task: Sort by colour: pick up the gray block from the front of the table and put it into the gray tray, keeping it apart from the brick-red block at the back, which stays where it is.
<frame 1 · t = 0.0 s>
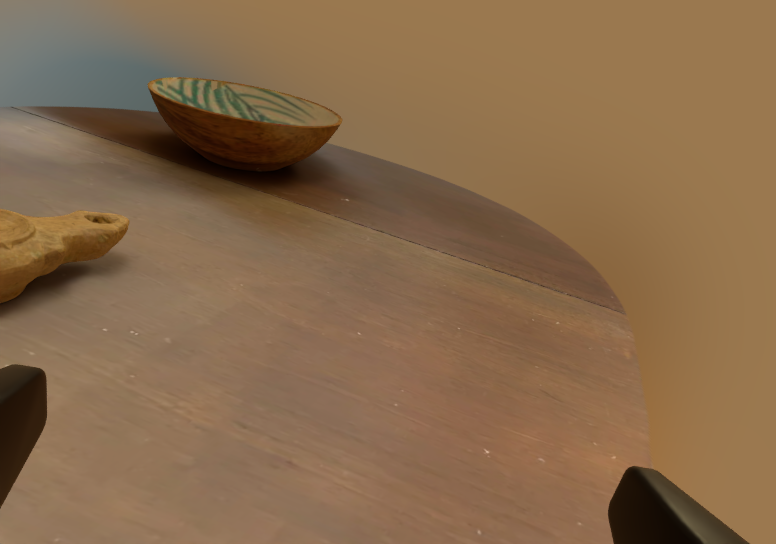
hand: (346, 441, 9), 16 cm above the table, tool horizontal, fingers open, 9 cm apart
bowl: (242, 160, 81), on the table
oil lamp: (14, 283, 41), on the table
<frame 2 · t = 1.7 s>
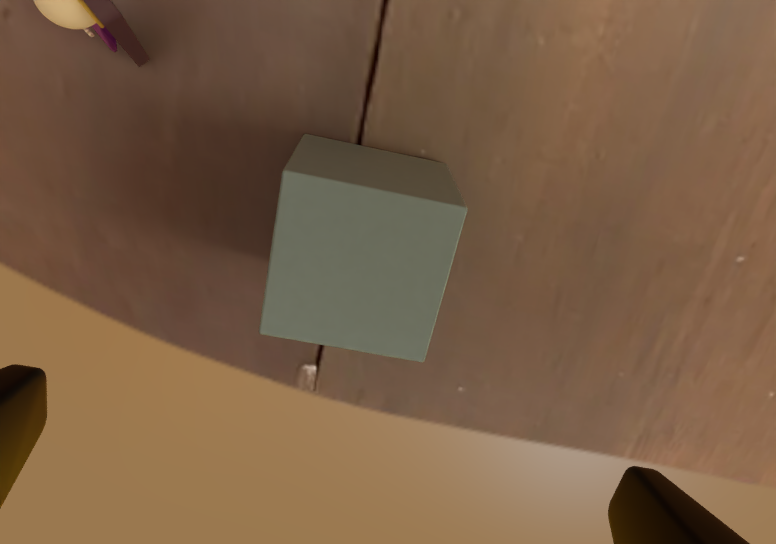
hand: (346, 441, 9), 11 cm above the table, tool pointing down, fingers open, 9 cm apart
gray block: (362, 216, 19), on the table
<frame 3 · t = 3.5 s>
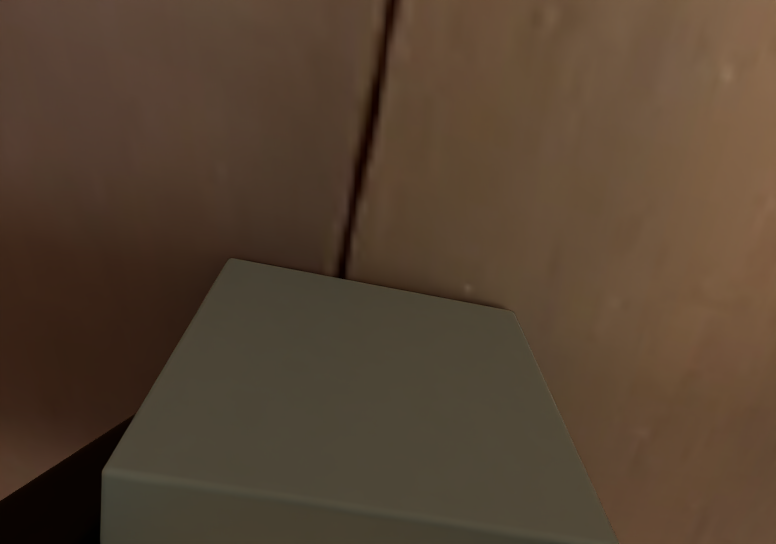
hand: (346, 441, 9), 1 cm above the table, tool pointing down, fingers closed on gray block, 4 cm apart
gray block: (348, 401, 10), on the table, touching gripper
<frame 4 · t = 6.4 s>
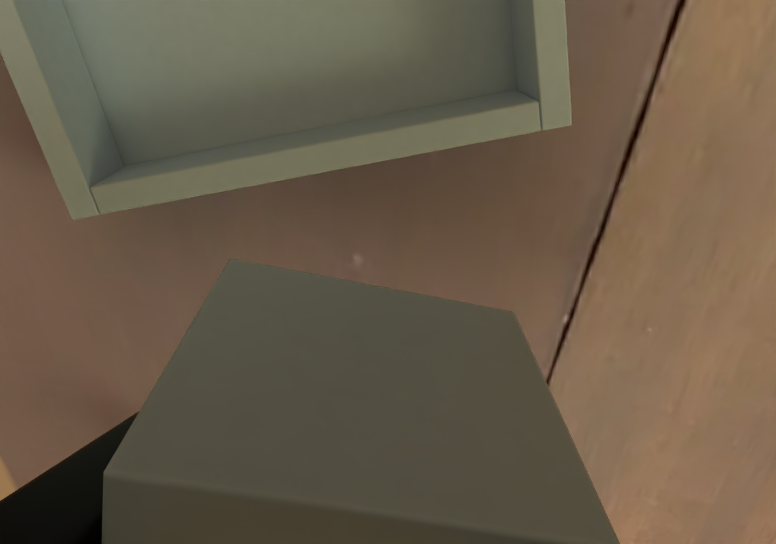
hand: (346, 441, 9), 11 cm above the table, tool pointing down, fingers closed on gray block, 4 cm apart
gray block: (348, 401, 10), point 10 cm above the table, touching gripper
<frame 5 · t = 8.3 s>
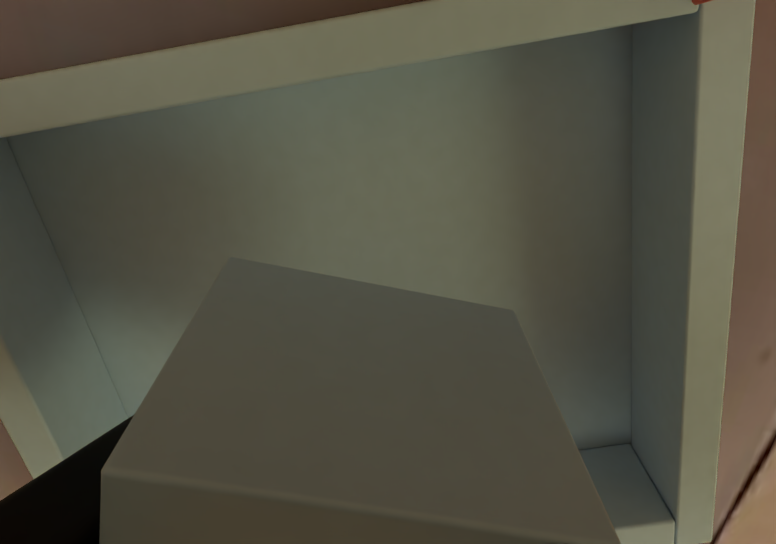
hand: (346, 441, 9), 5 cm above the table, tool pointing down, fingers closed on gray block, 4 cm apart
gray block: (348, 400, 10), point 4 cm above the table, touching gripper
gray tray: (358, 292, 14), on the table
when the fingers open (2 cm above the table, at t = 9.6 s): gray block stays where it is, resting on gray tray.
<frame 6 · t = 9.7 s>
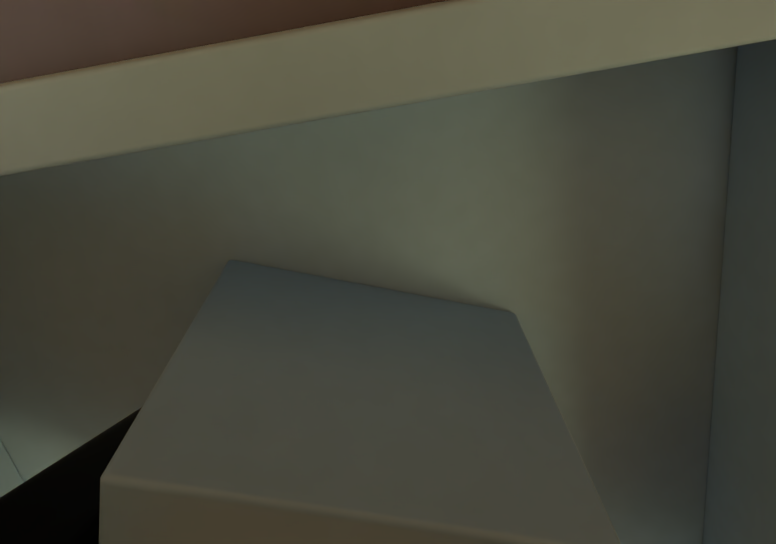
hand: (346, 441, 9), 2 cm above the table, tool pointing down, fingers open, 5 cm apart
gray block: (348, 403, 10), point 1 cm above the table, touching gray tray
gray tray: (352, 381, 10), on the table
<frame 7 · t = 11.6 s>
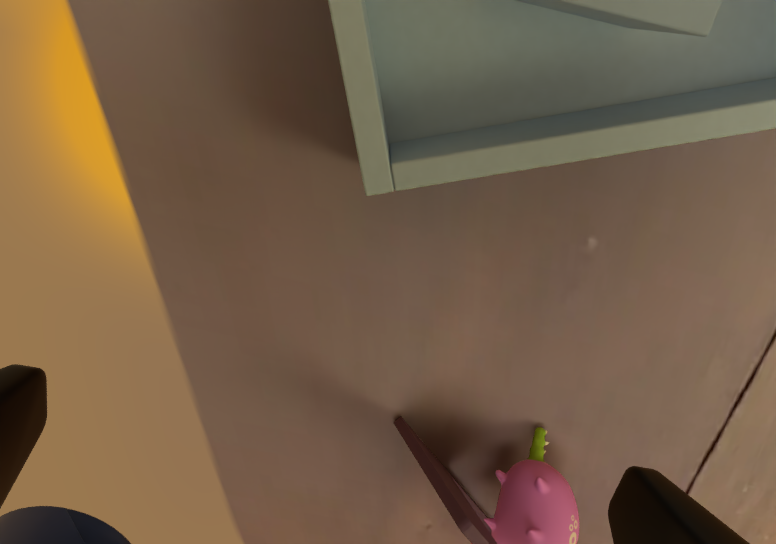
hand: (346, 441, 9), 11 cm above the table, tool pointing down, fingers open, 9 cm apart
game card: (500, 460, 24), on the table
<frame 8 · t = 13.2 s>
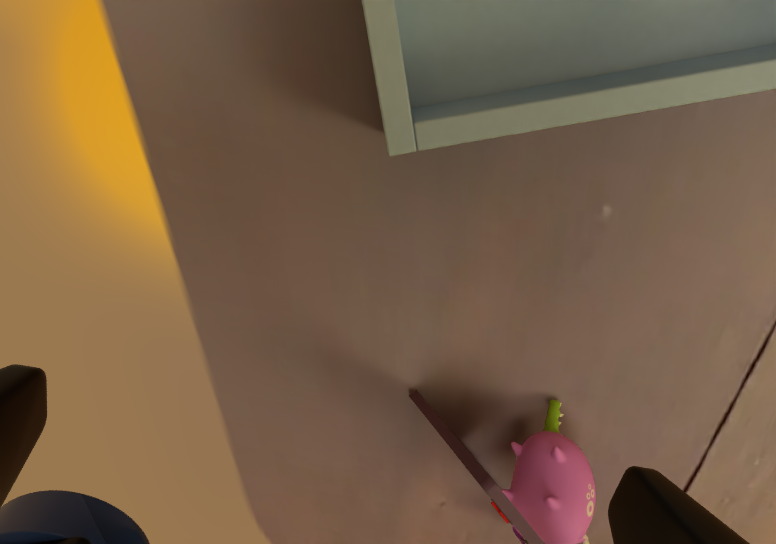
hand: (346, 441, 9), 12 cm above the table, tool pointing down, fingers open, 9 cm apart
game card: (514, 435, 24), on the table
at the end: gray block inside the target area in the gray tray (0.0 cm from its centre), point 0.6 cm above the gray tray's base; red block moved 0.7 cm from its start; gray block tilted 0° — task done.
